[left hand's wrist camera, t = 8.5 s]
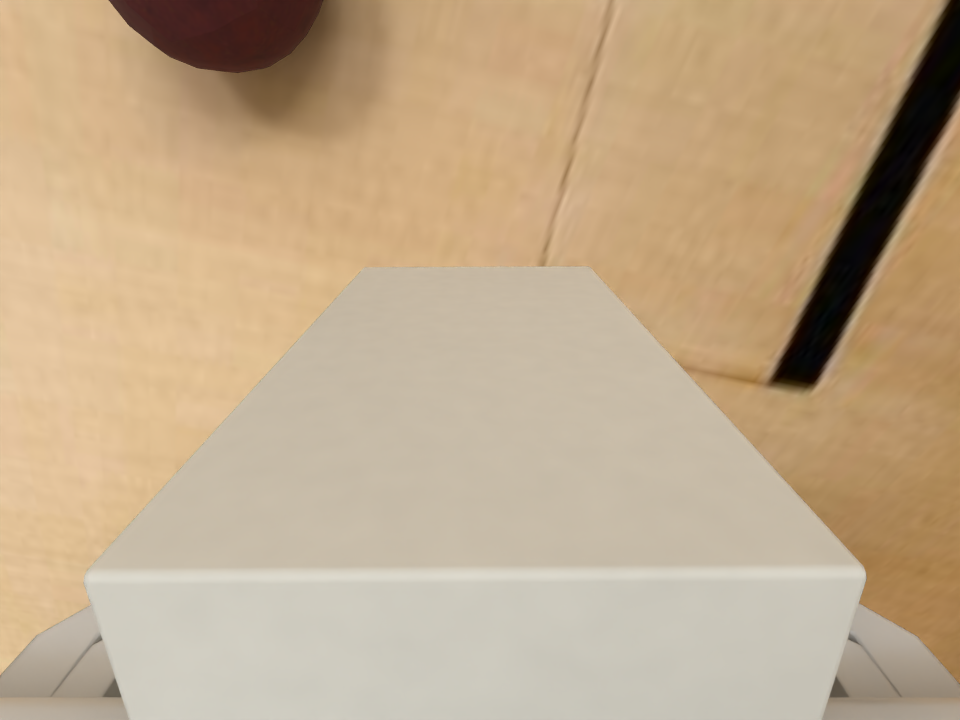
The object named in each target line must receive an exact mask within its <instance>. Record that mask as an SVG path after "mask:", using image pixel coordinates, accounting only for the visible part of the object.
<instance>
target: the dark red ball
mask: <svg viewBox="0 0 960 720" xmlns="http://www.w3.org/2000/svg"><path fill="white" fill-rule="evenodd" d="M109 1H110V2H111V4H112V5H113V6H114V7H115V9H116V10H117V11H118V12H119V14H120V15H121V16H122V17H123V19H124V20H125V21H126V22H127V24H128V25H129V26H130V27H132V28H133V29H134V30H135V31H137V32H138V33H139V34H140V35H142V36H143V37H144V38H145V39H147V40H148V41H149V42H150V43H152V44H153V45H154V46H155V47H157V48H158V49H160V50H161V51H162V52H164V53H165V54H167V55H168V56H169V57H171V58H174V59H176V60H179V61H181V62H184V63H186V64H189V65H191V66H193V67H196V68H200V69H208V70H216V71H224V72H234V73H239V72H245V71H251V70H257V69H263V68H266V67H269V66H271V65H273V64H274V63H276V62H277V61H279V60H281V59H282V58H284V57H285V56H287V55H289V54H290V53H291V52H292V51H293V50H294V49H295V48H296V46H297V45H298V44H299V43H300V42H301V41H302V40H303V38H304V37H305V36H306V35H307V33H308V31H309V30H310V28H311V26H312V24H313V22H314V21H315V19H316V17H317V15H318V13H319V11H320V8H321V5H322V2H323V0H109Z"/></svg>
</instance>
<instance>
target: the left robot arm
mask: <svg viewBox="0 0 960 720" xmlns="http://www.w3.org/2000/svg"><path fill="white" fill-rule="evenodd" d="M0 720H129V718H128V715H127V712H126V709H125V706H124V703H123V700H122V697H121V694H120V691H119V688H118V685H117V682H116V679H115V676H114V673H113V670H112V667H111V664H110V661H109V658H108V655H107V652H106V649H105V646H104V643H103V640H102V637H101V634H100V631H99V628H98V624H97V621H96V618H95V615H94V612H93V609H92V606H91V605H90V606H88V607H86V608H84V609H83V610H81V611H79V612H77V613H76V614H74V615H72V616H70V617H69V618H67V619H65V620H63V621H61V622H60V623H58V624H56V625H54V626H53V627H51V628H49V629H47V630H45V631H44V632H42V633H40V634H38V635H37V636H36V637H35V638H34V639H33V640H32V641H31V642H30V643H29V644H28V645H27V646H26V648H25V649H24V650H23V651H22V652H21V653H20V654H19V655H18V656H17V657H16V659H15V660H14V661H13V662H12V663H11V664H10V665H9V666H8V667H7V668H6V670H5V671H4V672H3V673H2V674H1V675H0ZM822 720H960V684H959V683H958V682H957V680H956V679H955V678H954V677H953V676H952V675H951V674H950V673H949V671H948V670H947V669H946V668H945V667H944V666H943V665H942V664H941V662H940V661H939V660H938V659H937V658H936V657H935V656H934V655H933V653H932V652H931V651H930V650H929V649H928V648H927V647H926V646H925V644H924V643H923V642H922V641H921V640H920V639H919V638H918V637H917V636H916V635H914V634H912V633H910V632H909V631H907V630H905V629H903V628H902V627H900V626H898V625H896V624H895V623H893V622H891V621H889V620H888V619H886V618H884V617H882V616H881V615H879V614H877V613H875V612H874V611H872V610H870V609H868V608H867V607H865V606H863V605H861V604H860V603H859V604H858V607H857V611H856V614H855V617H854V620H853V623H852V626H851V630H850V633H849V636H848V639H847V642H846V645H845V648H844V652H843V655H842V658H841V661H840V664H839V667H838V671H837V674H836V677H835V680H834V683H833V686H832V690H831V693H830V696H829V699H828V702H827V705H826V709H825V712H824V715H823V718H822Z"/></svg>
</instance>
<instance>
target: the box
mask: <svg viewBox="0 0 960 720" xmlns="http://www.w3.org/2000/svg"><path fill="white" fill-rule="evenodd" d="M866 579H867V577H866V571H865V569H864V566H863V565H862V564H861V563H860V562H859V561H858V560H857V559H856V557H855V556H854V555H853V554H852V553H851V552H850V551H849V550H848V549H847V548H846V547H845V545H844V544H843V543H842V542H841V541H840V540H839V539H838V538H837V537H836V536H835V535H834V533H833V532H832V531H831V530H830V529H829V528H828V527H827V526H826V525H825V524H824V522H823V521H822V520H821V519H820V518H819V517H818V516H817V515H816V514H815V513H814V512H813V510H812V509H811V508H810V507H809V506H808V505H807V504H806V503H805V502H804V501H803V500H802V498H801V497H800V496H799V495H798V494H797V493H796V492H795V491H794V490H793V489H792V487H791V486H790V485H789V484H788V483H787V482H786V481H785V480H784V479H783V478H782V477H781V475H780V474H779V473H778V472H777V471H776V470H775V469H774V468H773V467H772V466H771V465H770V463H769V462H768V461H767V460H766V459H765V458H764V457H763V456H762V455H761V454H760V452H759V451H758V450H757V449H756V448H755V447H754V446H753V445H752V444H751V443H750V442H749V440H748V439H747V438H746V437H745V436H744V435H743V434H742V433H741V432H740V431H739V430H738V428H737V427H736V426H735V425H734V424H733V423H732V422H731V421H730V420H729V419H728V417H727V416H726V415H725V414H724V413H723V412H722V411H721V410H720V409H719V408H718V407H717V405H716V404H715V403H714V402H713V401H712V400H711V399H710V398H709V397H708V396H707V394H706V393H705V392H704V391H703V390H702V389H701V388H700V387H699V386H698V385H697V384H696V382H695V381H694V380H693V379H692V378H691V377H690V376H689V375H688V374H687V373H686V372H685V370H684V369H683V368H682V367H681V366H680V365H679V364H678V363H677V362H676V361H675V359H674V358H673V357H672V356H671V355H670V354H669V353H668V352H667V351H666V350H665V349H664V347H663V346H662V345H661V344H660V343H659V342H658V341H657V340H656V339H655V338H654V337H653V335H652V334H651V333H650V332H649V331H648V330H647V329H646V328H645V327H644V326H643V324H642V323H641V322H640V321H639V320H638V319H637V318H636V317H635V316H634V315H633V314H632V312H631V311H630V310H629V309H628V308H627V307H626V306H625V305H624V304H623V303H622V302H621V300H620V299H619V298H618V297H617V296H616V295H615V294H614V293H613V292H612V291H611V289H610V288H609V287H608V286H607V285H606V284H605V283H604V282H603V281H602V280H601V279H600V277H599V276H598V275H597V274H596V273H595V272H594V271H593V270H592V269H591V268H590V267H588V266H572V267H365V268H363V269H362V270H361V271H360V272H359V274H358V275H357V276H356V277H355V278H354V279H353V280H352V281H351V282H350V283H349V284H348V286H347V287H346V288H345V289H344V290H343V291H342V292H341V293H340V294H339V295H338V297H337V298H336V299H335V300H334V301H333V302H332V303H331V304H330V305H329V306H328V307H327V309H326V310H325V311H324V312H323V313H322V314H321V315H320V316H319V317H318V318H317V319H316V321H315V322H314V323H313V324H312V325H311V326H310V327H309V328H308V329H307V330H306V331H305V333H304V334H303V335H302V336H301V337H300V338H299V339H298V340H297V341H296V342H295V343H294V345H293V346H292V347H291V348H290V349H289V350H288V351H287V352H286V353H285V354H284V356H283V357H282V358H281V359H280V360H279V361H278V362H277V363H276V364H275V365H274V366H273V368H272V369H271V370H270V371H269V372H268V373H267V374H266V375H265V376H264V377H263V378H262V380H261V381H260V382H259V383H258V384H257V385H256V386H255V387H254V388H253V389H252V390H251V392H250V393H249V394H248V395H247V396H246V397H245V398H244V399H243V400H242V401H241V403H240V404H239V405H238V406H237V407H236V408H235V409H234V410H233V411H232V412H231V413H230V415H229V416H228V417H227V418H226V419H225V420H224V421H223V422H222V423H221V424H220V425H219V427H218V428H217V429H216V430H215V431H214V432H213V433H212V434H211V435H210V436H209V437H208V439H207V440H206V441H205V442H204V443H203V444H202V445H201V446H200V447H199V448H198V450H197V451H196V452H195V453H194V454H193V455H192V456H191V457H190V458H189V459H188V460H187V462H186V463H185V464H184V465H183V466H182V467H181V468H180V469H179V470H178V471H177V472H176V474H175V475H174V476H173V477H172V478H171V479H170V480H169V481H168V482H167V483H166V484H165V486H164V487H163V488H162V489H161V490H160V491H159V492H158V493H157V494H156V495H155V497H154V498H153V499H152V500H151V501H150V502H149V503H148V504H147V505H146V506H145V507H144V509H143V510H142V511H141V512H140V513H139V514H138V515H137V516H136V517H135V518H134V519H133V521H132V522H131V523H130V524H129V525H128V526H127V527H126V528H125V529H124V530H123V531H122V533H121V534H120V535H119V536H118V537H117V538H116V539H115V540H114V541H113V542H112V544H111V545H110V546H109V547H108V548H107V549H106V550H105V551H104V552H103V553H102V554H101V556H100V557H99V558H98V559H97V560H96V561H95V562H94V563H93V564H92V565H91V566H90V568H89V569H88V570H87V571H86V574H85V576H84V585H85V588H86V591H87V594H88V597H89V600H90V603H91V606H92V609H93V612H94V615H95V618H96V621H97V624H98V628H99V631H100V634H101V637H102V640H103V643H104V646H105V649H106V652H107V655H108V658H109V661H110V664H111V667H112V670H113V673H114V676H115V679H116V682H117V685H118V688H119V691H120V694H121V697H122V700H123V703H124V706H125V709H126V712H127V715H128V718H129V720H822V718H823V715H824V712H825V709H826V705H827V702H828V699H829V696H830V693H831V690H832V686H833V683H834V680H835V677H836V674H837V671H838V667H839V664H840V661H841V658H842V655H843V652H844V648H845V645H846V642H847V639H848V636H849V633H850V630H851V626H852V623H853V620H854V617H855V614H856V611H857V607H858V604H859V601H860V598H861V595H862V592H863V588H864V585H865V582H866Z"/></svg>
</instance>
